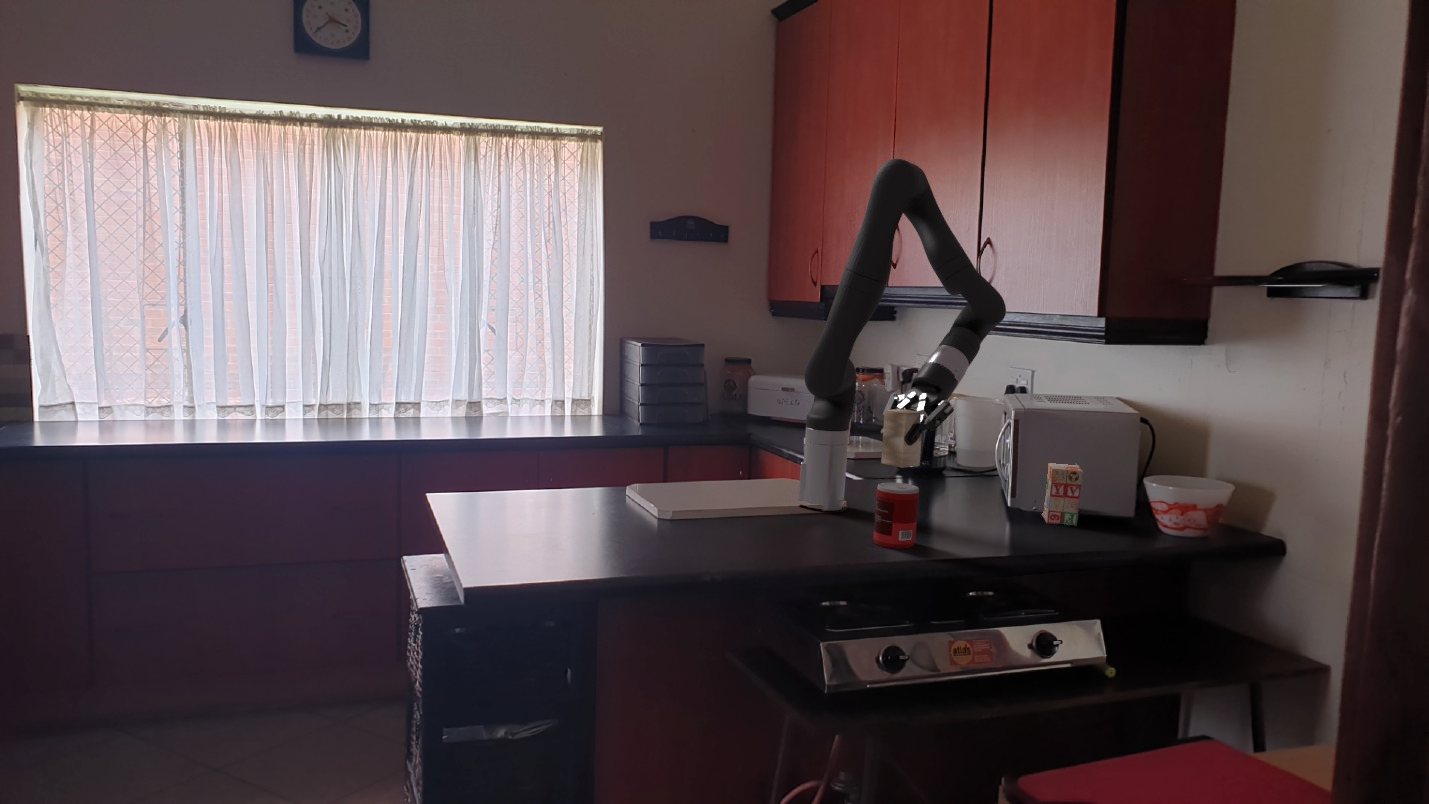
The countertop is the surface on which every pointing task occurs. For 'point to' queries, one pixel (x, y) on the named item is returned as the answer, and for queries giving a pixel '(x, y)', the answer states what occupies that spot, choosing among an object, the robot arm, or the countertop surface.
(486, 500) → the countertop surface
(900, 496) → the canned food
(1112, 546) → the countertop surface
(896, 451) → the oak block
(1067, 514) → the stack of blocks
